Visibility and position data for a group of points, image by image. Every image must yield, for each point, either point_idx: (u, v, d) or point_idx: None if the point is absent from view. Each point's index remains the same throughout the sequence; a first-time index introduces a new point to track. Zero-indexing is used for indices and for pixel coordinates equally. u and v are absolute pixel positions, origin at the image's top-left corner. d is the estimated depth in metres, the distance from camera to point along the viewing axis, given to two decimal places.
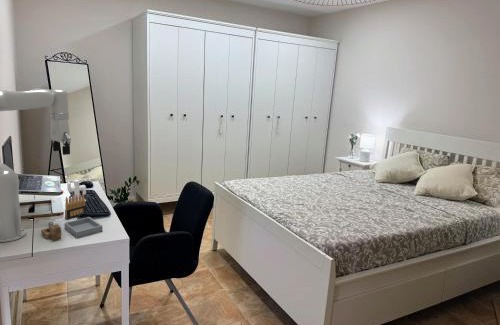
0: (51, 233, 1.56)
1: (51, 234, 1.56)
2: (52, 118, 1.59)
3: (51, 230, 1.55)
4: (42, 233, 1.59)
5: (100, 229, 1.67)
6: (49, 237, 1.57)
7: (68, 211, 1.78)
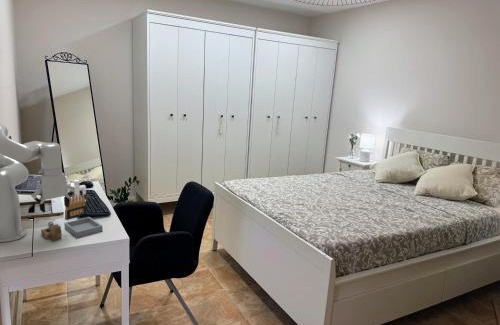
0: (51, 233, 1.56)
1: (51, 234, 1.56)
2: (57, 174, 1.49)
3: (51, 230, 1.55)
4: (42, 233, 1.59)
5: (100, 229, 1.67)
6: (49, 237, 1.57)
7: (68, 211, 1.78)
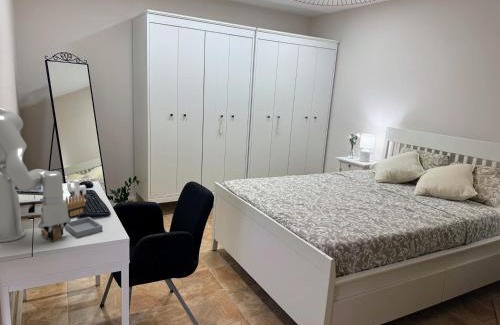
0: None
1: None
2: (59, 202, 1.52)
3: None
4: (42, 233, 1.59)
5: (100, 229, 1.67)
6: None
7: (68, 211, 1.78)
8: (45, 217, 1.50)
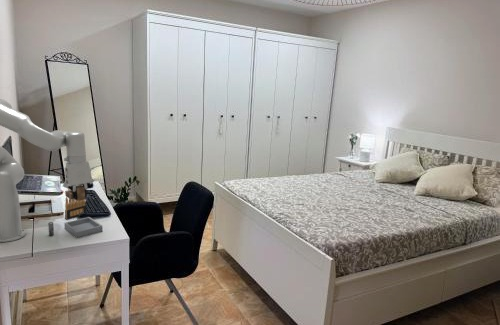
0: None
1: None
2: (82, 161, 1.55)
3: None
4: (66, 194, 1.62)
5: (100, 229, 1.67)
6: None
7: (68, 211, 1.78)
8: (69, 176, 1.53)
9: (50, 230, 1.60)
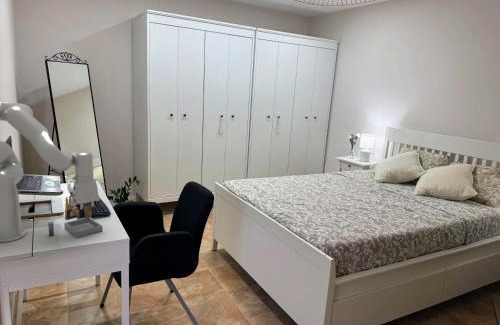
0: None
1: None
2: (90, 180, 1.59)
3: None
4: (73, 211, 1.66)
5: (100, 229, 1.67)
6: None
7: (68, 211, 1.78)
8: (77, 195, 1.57)
9: (50, 230, 1.60)
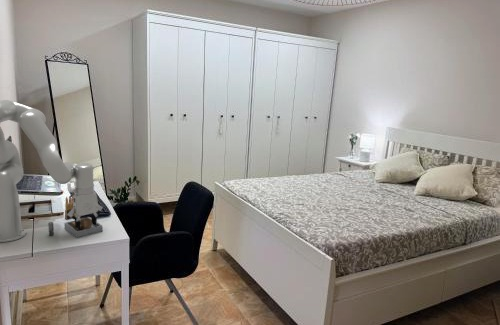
0: (82, 226, 1.64)
1: (82, 226, 1.64)
2: (90, 193, 1.60)
3: (82, 223, 1.64)
4: (73, 226, 1.68)
5: (100, 229, 1.67)
6: (80, 229, 1.66)
7: (68, 211, 1.78)
8: (77, 207, 1.58)
9: (50, 230, 1.60)
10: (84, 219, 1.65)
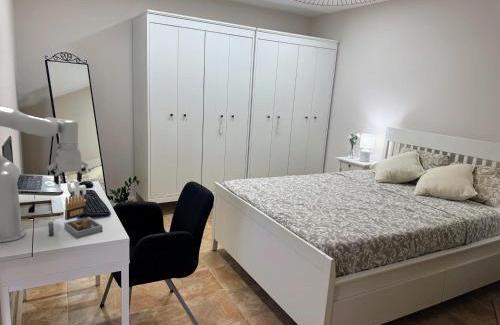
0: (82, 226, 1.64)
1: (82, 226, 1.64)
2: (73, 149, 1.58)
3: (82, 223, 1.64)
4: (73, 226, 1.68)
5: (100, 229, 1.67)
6: (80, 229, 1.66)
7: (68, 211, 1.78)
8: (59, 162, 1.56)
9: (50, 230, 1.60)
10: (84, 219, 1.65)
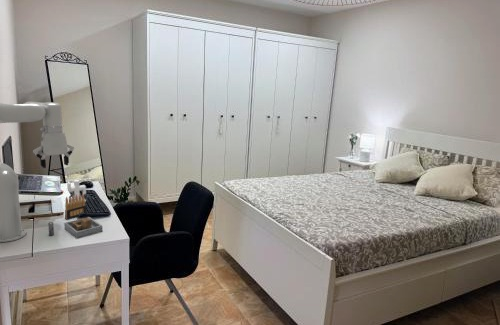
0: (82, 226, 1.64)
1: (82, 226, 1.64)
2: (58, 132, 1.58)
3: (82, 223, 1.64)
4: (73, 226, 1.68)
5: (100, 229, 1.67)
6: (80, 229, 1.66)
7: (68, 211, 1.78)
8: (45, 145, 1.56)
9: (50, 230, 1.60)
10: (84, 219, 1.65)
